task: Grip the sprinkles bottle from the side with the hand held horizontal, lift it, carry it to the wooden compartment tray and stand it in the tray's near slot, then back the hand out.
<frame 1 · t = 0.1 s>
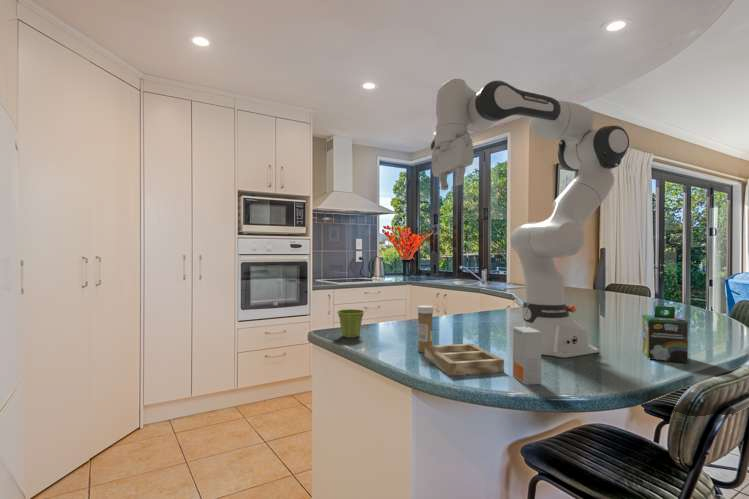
hand: (451, 187, 111), 48 cm above the countertop, tool pointing down, fingers open, 8 cm apart
plant pot: (350, 336, 135), on the countertop
wooden compartment tray: (461, 363, 104), on the countertop
chalk box: (663, 358, 111), on the countertop
sprinkles bottle: (425, 352, 116), on the countertop
skincare box: (526, 381, 92), on the countertop
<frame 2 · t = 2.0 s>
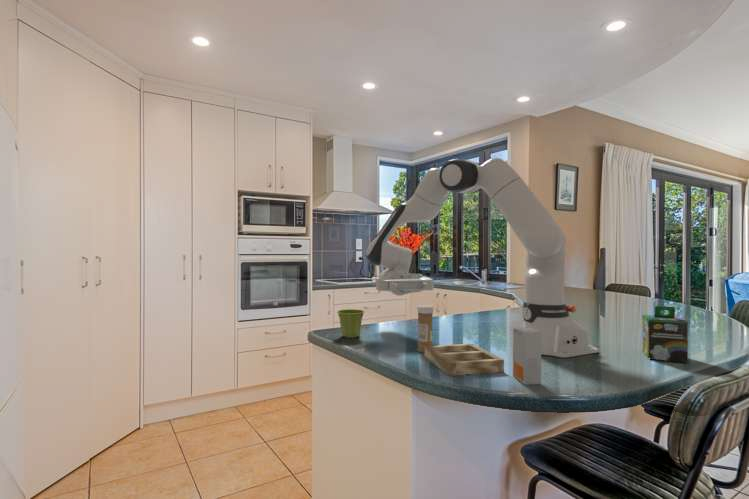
hand: (411, 286, 128), 18 cm above the countertop, tool horizontal, fingers open, 8 cm apart
nothing on the countertop moved.
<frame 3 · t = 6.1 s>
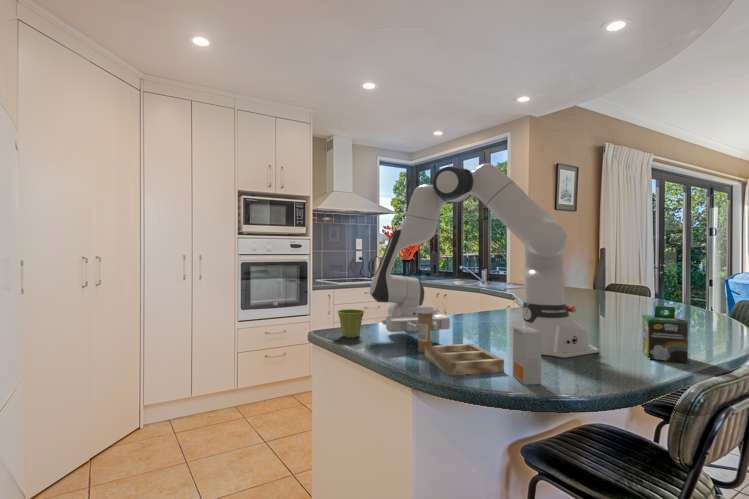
hand: (426, 328, 115), 7 cm above the countertop, tool horizontal, fingers closed on sprinkles bottle, 4 cm apart
sprinkles bottle: (425, 351, 116), on the countertop, touching gripper
everything else where it was.
when the fingers open (8 cm above the countertop, at t = 11.4 s): sprinkles bottle drops 1 cm, resting in wooden compartment tray.
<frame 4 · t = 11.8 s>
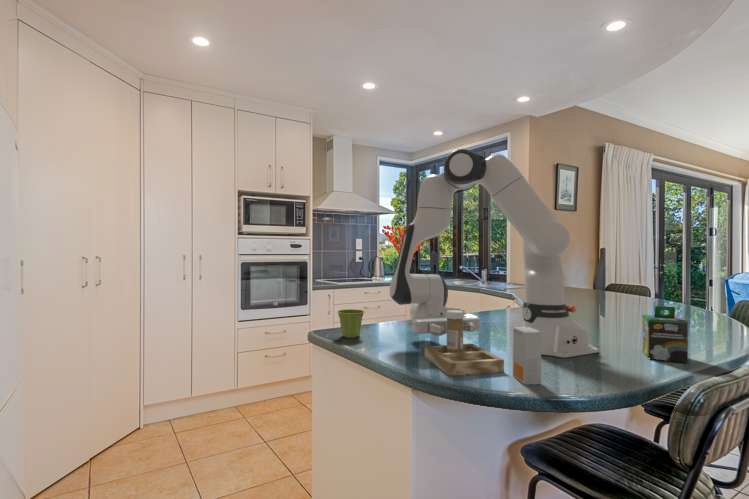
hand: (457, 329, 107), 8 cm above the countertop, tool horizontal, fingers open, 8 cm apart
sprinkles bottle: (454, 360, 108), resting in wooden compartment tray
everything else where it was.
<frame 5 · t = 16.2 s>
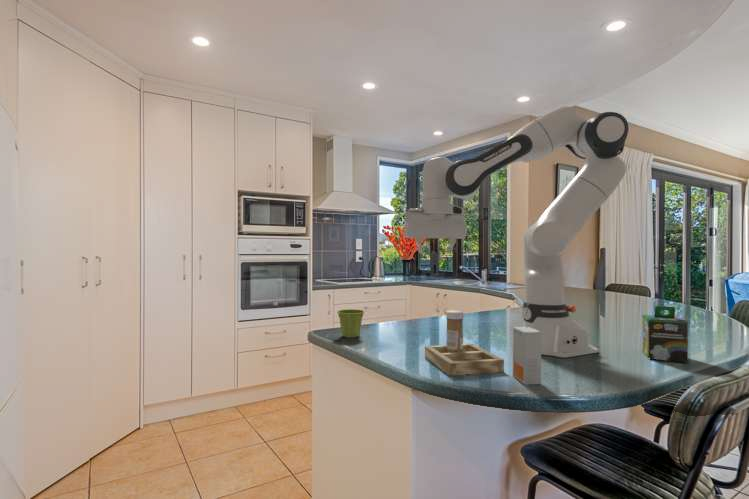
hand: (435, 252, 124), 29 cm above the countertop, tool pointing down, fingers open, 8 cm apart
nothing on the countertop moved.
at the end: sprinkles bottle inside the target area on the wooden compartment tray (0.4 cm from its centre), point 0.0 cm above the wooden compartment tray's base; sprinkles bottle tilted 0°; the gripper is holding nothing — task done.
